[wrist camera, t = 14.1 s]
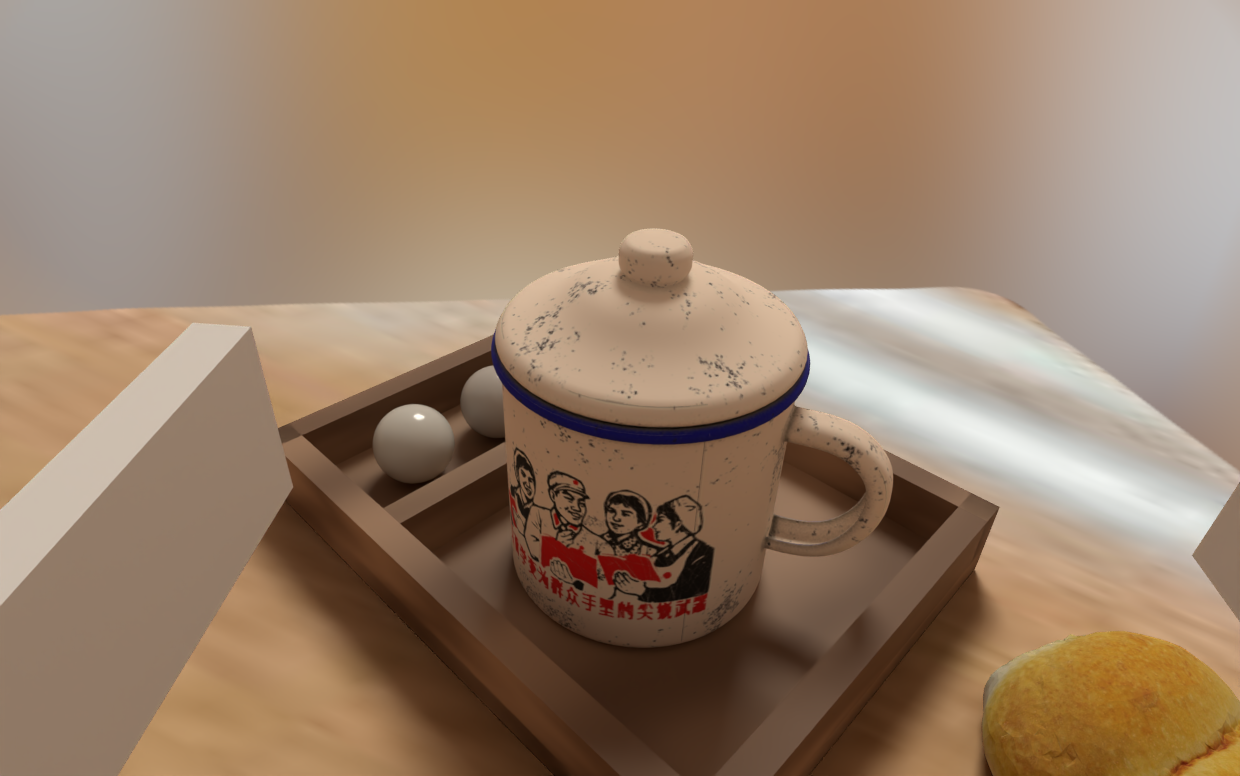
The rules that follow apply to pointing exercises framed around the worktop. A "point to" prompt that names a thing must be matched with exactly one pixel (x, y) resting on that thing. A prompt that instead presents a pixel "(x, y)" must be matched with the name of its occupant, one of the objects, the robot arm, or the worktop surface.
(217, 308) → the worktop surface
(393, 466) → the pebble
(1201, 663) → the bread roll
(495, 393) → the pebble
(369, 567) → the parts tray
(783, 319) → the teacup with lid
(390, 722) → the worktop surface
